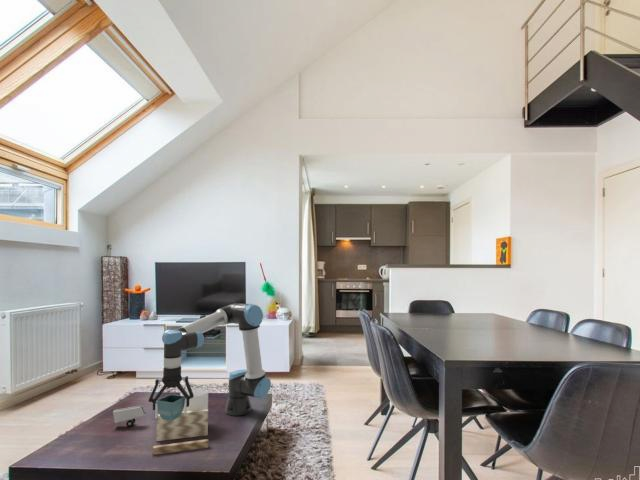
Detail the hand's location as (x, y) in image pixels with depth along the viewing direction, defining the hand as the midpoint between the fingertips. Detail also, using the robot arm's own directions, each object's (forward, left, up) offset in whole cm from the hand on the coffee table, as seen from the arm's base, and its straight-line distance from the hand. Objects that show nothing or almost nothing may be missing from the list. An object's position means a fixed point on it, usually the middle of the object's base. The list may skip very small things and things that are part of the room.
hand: (171, 415), depth 170 cm
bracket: (+30, -43, -15) cm, 55 cm away
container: (-10, -31, -18) cm, 38 cm away
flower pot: (0, 0, -1) cm, 1 cm away
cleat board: (-4, -12, -18) cm, 22 cm away
